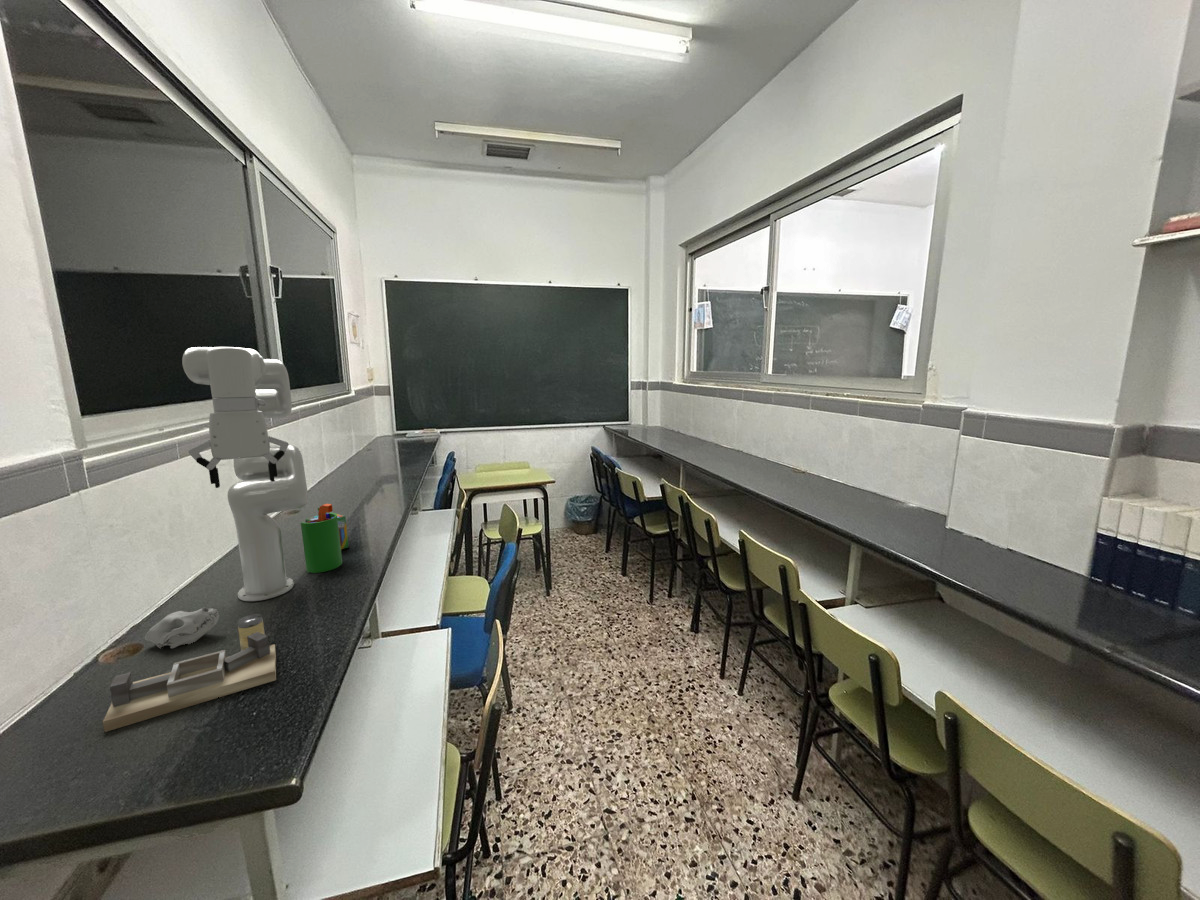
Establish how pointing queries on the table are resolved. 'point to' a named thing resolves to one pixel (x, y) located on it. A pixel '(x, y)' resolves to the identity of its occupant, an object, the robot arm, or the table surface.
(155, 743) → the table surface
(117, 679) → the stand
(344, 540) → the chalk box
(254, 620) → the gold cylinder
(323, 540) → the green cylindrical cup
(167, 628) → the skull
